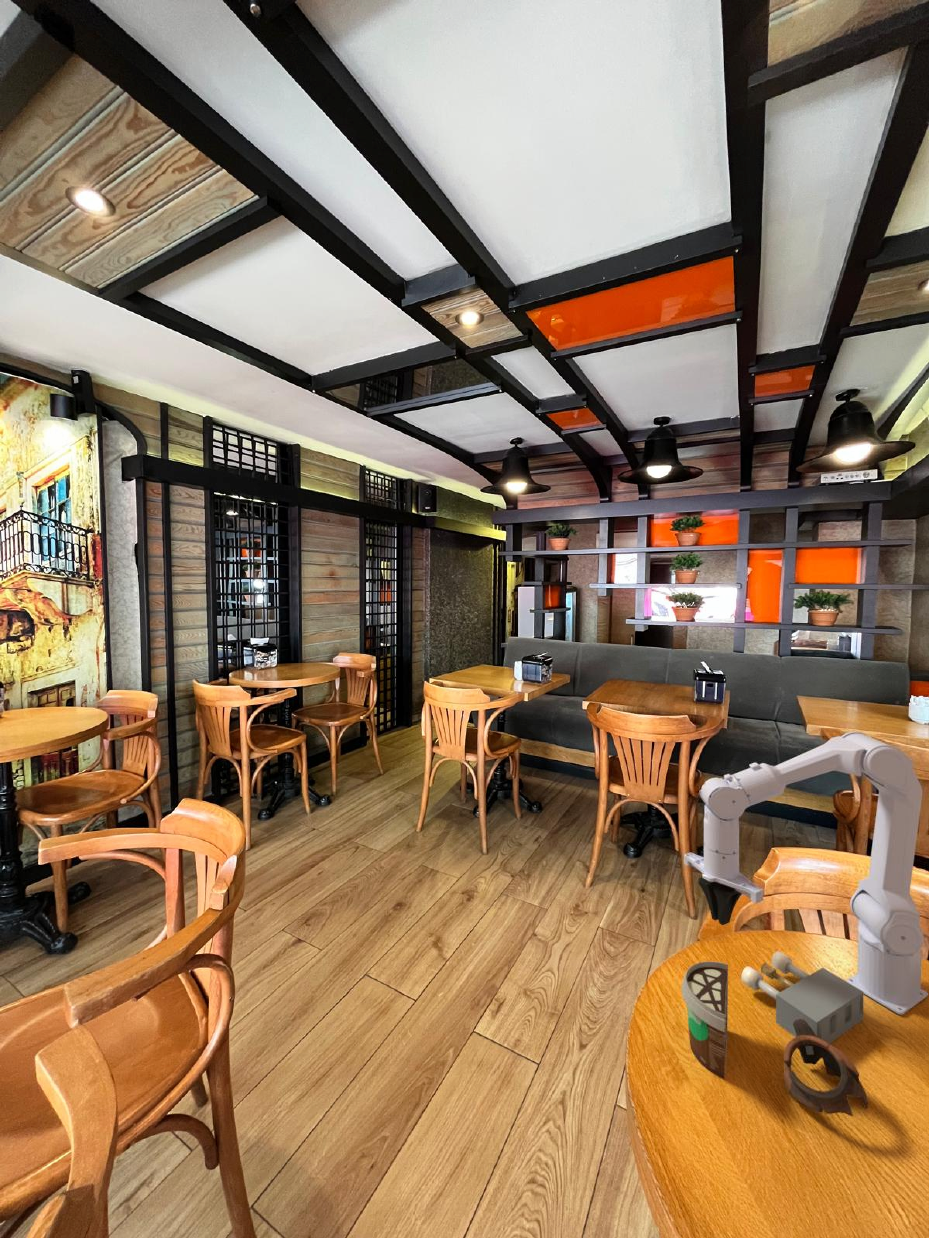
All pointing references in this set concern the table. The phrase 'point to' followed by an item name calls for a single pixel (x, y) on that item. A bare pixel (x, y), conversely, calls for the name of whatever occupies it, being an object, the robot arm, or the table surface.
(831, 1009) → the grey slotted box
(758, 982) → the knob
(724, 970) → the food container
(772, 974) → the pot shaft
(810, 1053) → the jagged brown ring
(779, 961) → the knob
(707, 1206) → the table surface
